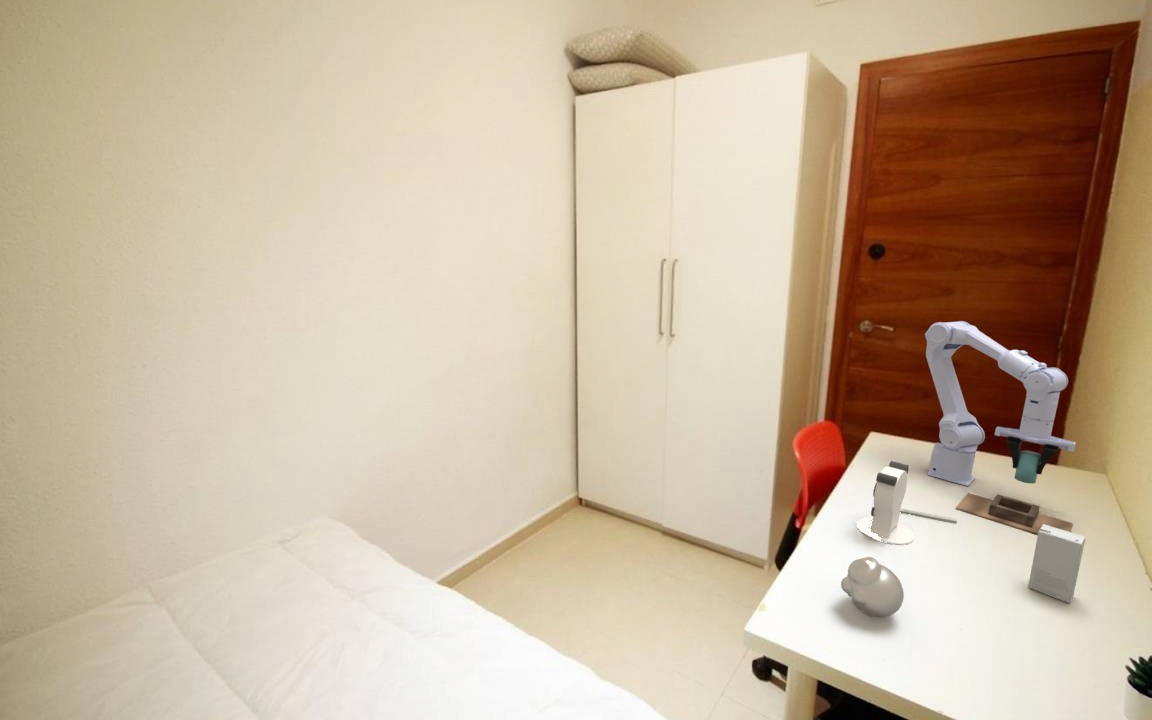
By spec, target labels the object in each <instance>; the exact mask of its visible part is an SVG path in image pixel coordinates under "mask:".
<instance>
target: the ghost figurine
mask: <svg viewBox="0 0 1152 720" xmlns="http://www.w3.org/2000/svg"><path fill="white" fill-rule="evenodd" d="M840 587H841V589H842V591H844V593H845V594H847V596H848V597H850V598H851V603H852V604H853V605H854V606H855V607H856V608H857V609H858V610H859V611H860V612H862V613H863V614H866V615H868V616H869V617H870V616H871V617H874V618H888V617H891V616H892V615H894V614H896V613H897V612H898V611H899V610H900V609H901V607H902V606H903V603H904V598H905V597H904V596H905V595H904V588H903V585H902V582H901V581H900V579H899V578H898V576H897V575H896V574H895V573H894V572H893V571H892V570H891V569H890V568H888V567H886V566H884V565H882V564H881V563H879V561H878V560H877V559H876V558H874V557H871V556H866V557H862V558H858V559H857V558H856V559H855V560H853V561H852V562H851V563H850V564H849V566H848V569H847V574H846V577H844V578H842V579H841V582H840Z"/></svg>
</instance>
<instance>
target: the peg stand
mask: <svg viewBox="0 0 1152 720" xmlns="http://www.w3.org/2000/svg"><path fill="white" fill-rule="evenodd" d="M955 510H957V511H960V512H962V513H963V512H964V513H966V514H970V515H973V516H976V517H980V518H982V519H986V520H989V521H992V522H995V523H999V524H1002V525H1005V526H1008V527H1010V528H1014V529H1017V530H1021V531H1024V532H1028V533H1030V534H1033V535H1036V536H1038V531H1039V530H1040V528H1041V527H1042V525H1043V524H1045V525H1048V526H1051V527H1055V528H1058V529H1061V530H1064V531H1068V532H1072V531H1071V530H1072V528H1073V522H1070V521H1066V520H1063V519H1060V518H1056V517H1053V516H1049V515H1047V514H1042V513H1040V512H1039V511H1040V505H1037V504H1034V503H1029V502H1026V501H1023V500H1019V499H1015V498H1012V497H1008V496H1006V495H1001V494H998V493H997V494H996V495H995V497H994V498H993V499H991V498H987V497H984V496H980V495H978V494H974V493H970V492H967V493H966V494H965V496H963V498H962V499H961V500H960V502H959V503H958V504H957V505H956V507H955Z"/></svg>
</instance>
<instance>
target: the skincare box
mask: <svg viewBox="0 0 1152 720" xmlns="http://www.w3.org/2000/svg"><path fill="white" fill-rule="evenodd" d="M1085 542H1086V536H1083V535H1080V534H1078V533H1077V534H1076V533H1073V532H1072V531H1070V532H1068V531H1064V530H1061V529H1058V528H1055V527H1051V526H1048V525H1045V524H1043V525H1042V527H1041V528H1040V530H1039V531H1038V535H1037V537H1036V543H1035V548H1034V552H1033V553H1034V554H1033V559H1032V564H1031V570H1030V576H1029V580H1028V584H1027V587H1028V588H1029V589H1031V590H1034V591H1036V592H1040V593H1042V594H1045V595H1047V596H1050V597H1053V598H1056V599H1058V600H1060V601H1063V602H1066V603H1068V604H1071V602H1072V600H1073V597H1074V595H1075V590H1076V585H1077V582H1078V581H1077V580H1078V577H1079V571H1080V566H1081V561H1082V556H1083V552H1084V546H1085Z"/></svg>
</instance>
